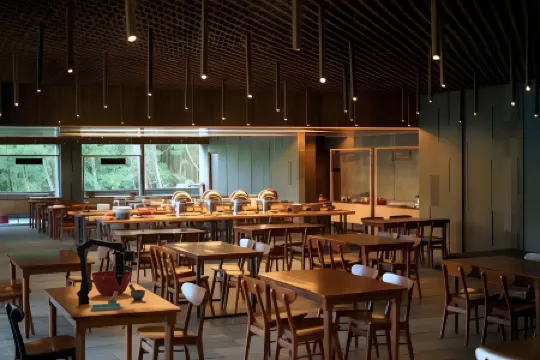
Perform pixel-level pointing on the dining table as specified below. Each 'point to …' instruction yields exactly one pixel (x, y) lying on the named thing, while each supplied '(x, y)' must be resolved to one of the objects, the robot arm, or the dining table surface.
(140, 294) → the mortar and pestle
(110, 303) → the grey cup
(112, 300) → the birch pin
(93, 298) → the dining table surface
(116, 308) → the teal tray
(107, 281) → the mixing bowl
